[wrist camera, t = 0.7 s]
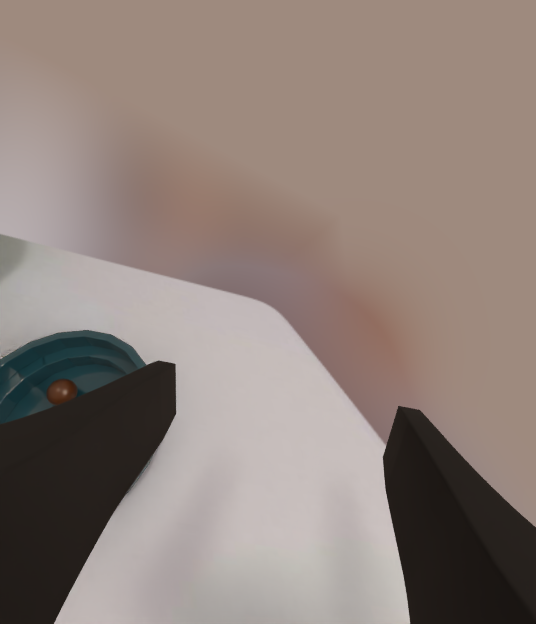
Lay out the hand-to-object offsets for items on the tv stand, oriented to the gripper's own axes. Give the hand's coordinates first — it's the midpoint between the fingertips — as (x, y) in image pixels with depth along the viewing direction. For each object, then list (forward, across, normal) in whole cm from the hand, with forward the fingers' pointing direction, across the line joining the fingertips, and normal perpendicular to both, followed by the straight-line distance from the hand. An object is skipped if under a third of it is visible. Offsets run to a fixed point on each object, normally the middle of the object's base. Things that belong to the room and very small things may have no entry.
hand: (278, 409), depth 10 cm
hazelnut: (+9, +17, +10) cm, 21 cm away
